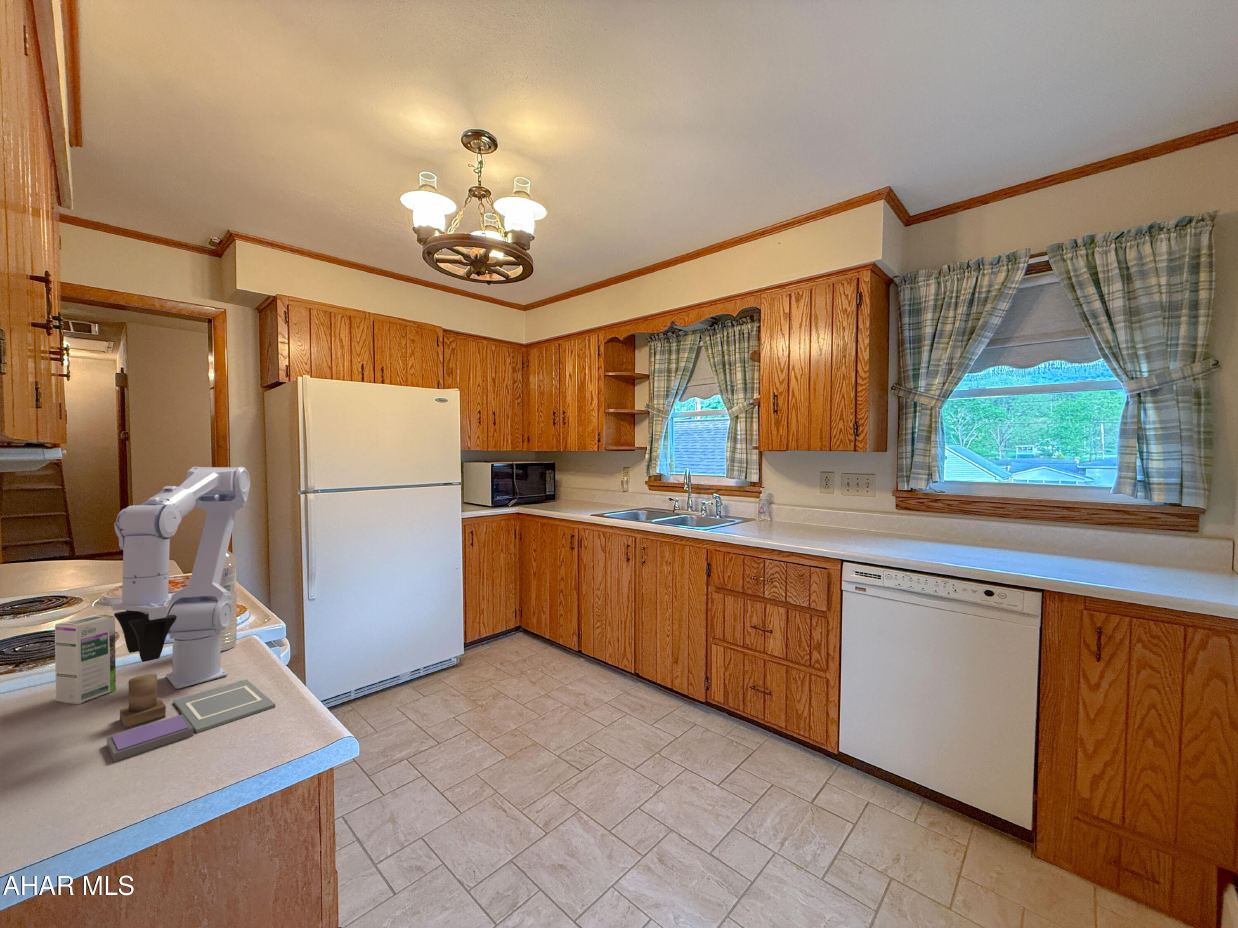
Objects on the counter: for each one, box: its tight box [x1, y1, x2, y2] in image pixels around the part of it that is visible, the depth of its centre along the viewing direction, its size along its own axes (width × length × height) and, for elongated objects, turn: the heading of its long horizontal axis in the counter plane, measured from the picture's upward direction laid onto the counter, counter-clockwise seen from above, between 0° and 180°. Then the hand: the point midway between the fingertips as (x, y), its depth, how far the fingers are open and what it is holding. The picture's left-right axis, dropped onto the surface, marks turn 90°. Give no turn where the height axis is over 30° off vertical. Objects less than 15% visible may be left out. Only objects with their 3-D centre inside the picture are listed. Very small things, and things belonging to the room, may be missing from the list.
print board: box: [173, 679, 276, 734], centre depth 89 cm, size 16×11×1 cm
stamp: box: [119, 673, 167, 730], centre depth 84 cm, size 5×5×7 cm
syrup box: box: [54, 614, 117, 705], centre depth 92 cm, size 6×6×14 cm
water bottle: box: [220, 549, 238, 653], centre depth 115 cm, size 7×7×25 cm
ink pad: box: [106, 713, 194, 763], centre depth 78 cm, size 7×9×1 cm
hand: (143, 655), depth 84 cm, fingers open, 7 cm apart
